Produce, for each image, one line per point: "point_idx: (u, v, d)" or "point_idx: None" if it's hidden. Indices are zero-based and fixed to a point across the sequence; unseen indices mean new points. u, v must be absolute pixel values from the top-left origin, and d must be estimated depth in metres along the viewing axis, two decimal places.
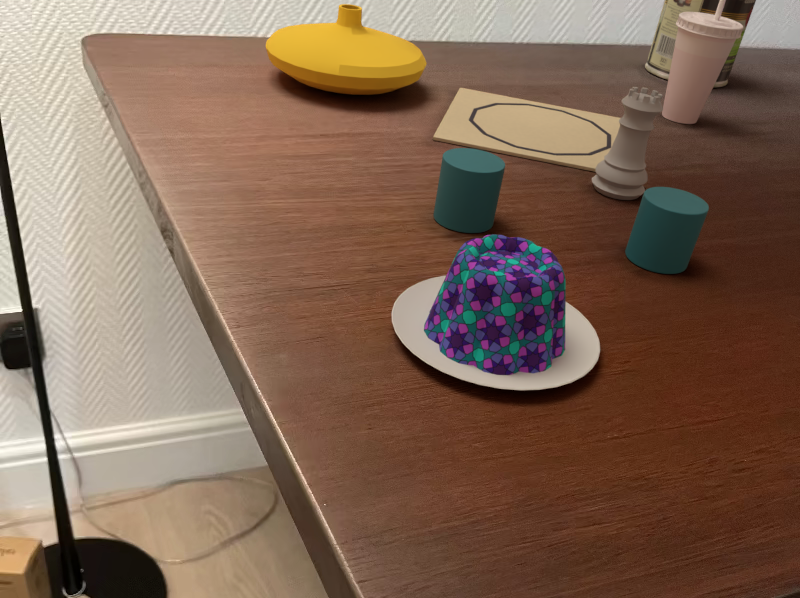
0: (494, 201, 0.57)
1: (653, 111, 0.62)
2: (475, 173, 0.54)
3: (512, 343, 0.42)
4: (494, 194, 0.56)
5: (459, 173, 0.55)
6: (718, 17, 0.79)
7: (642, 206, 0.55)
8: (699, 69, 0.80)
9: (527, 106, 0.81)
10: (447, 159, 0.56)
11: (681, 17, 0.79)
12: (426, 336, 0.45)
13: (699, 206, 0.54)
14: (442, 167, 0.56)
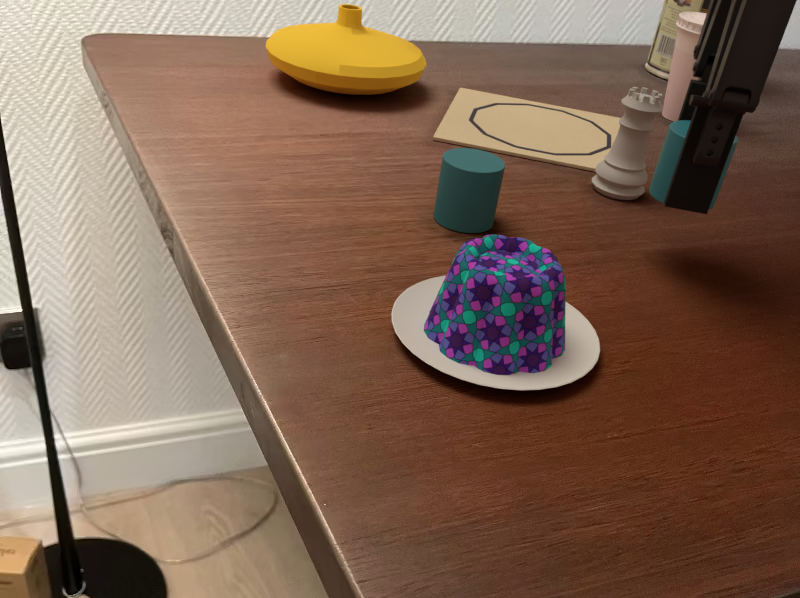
0: (494, 201, 0.57)
1: (653, 111, 0.62)
2: (475, 173, 0.54)
3: (512, 343, 0.42)
4: (494, 194, 0.56)
5: (459, 173, 0.55)
6: None
7: (667, 139, 0.52)
8: None
9: (527, 106, 0.81)
10: (447, 159, 0.56)
11: (681, 17, 0.79)
12: (426, 336, 0.45)
13: None
14: (442, 167, 0.56)
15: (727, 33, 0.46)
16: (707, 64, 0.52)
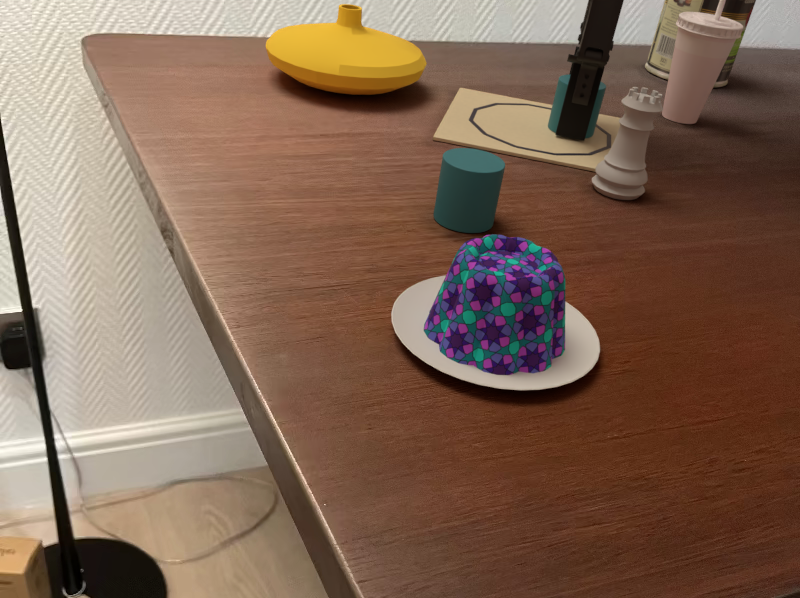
0: (494, 201, 0.57)
1: (653, 111, 0.62)
2: (475, 173, 0.54)
3: (512, 343, 0.42)
4: (494, 194, 0.56)
5: (459, 173, 0.55)
6: (718, 17, 0.79)
7: (557, 87, 0.74)
8: (699, 69, 0.80)
9: (527, 106, 0.81)
10: (447, 159, 0.56)
11: (681, 17, 0.79)
12: (426, 336, 0.45)
13: (599, 86, 0.74)
14: (442, 167, 0.56)
15: (589, 11, 0.68)
16: None
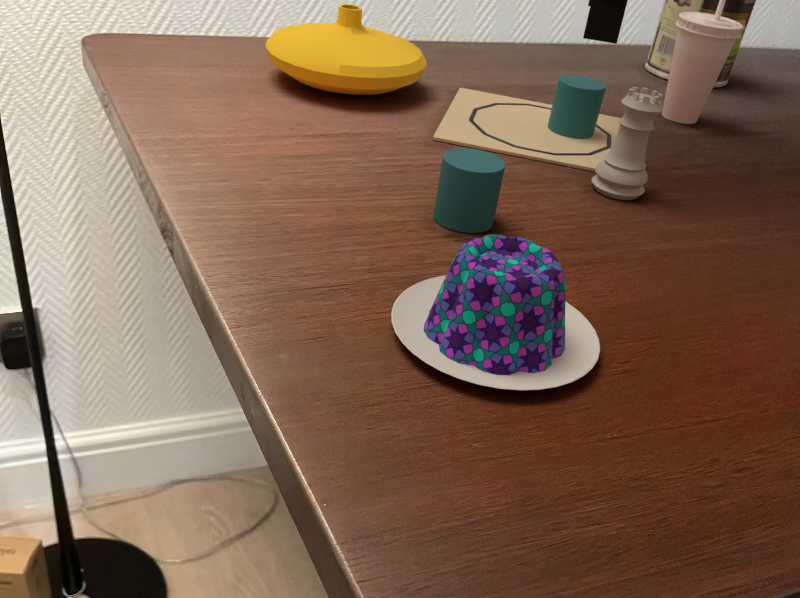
0: (494, 201, 0.57)
1: (653, 111, 0.62)
2: (475, 173, 0.54)
3: (512, 343, 0.42)
4: (494, 194, 0.56)
5: (459, 173, 0.55)
6: (718, 17, 0.79)
7: (557, 87, 0.74)
8: (699, 69, 0.80)
9: (527, 106, 0.81)
10: (447, 159, 0.56)
11: (681, 17, 0.79)
12: (426, 336, 0.45)
13: (598, 86, 0.74)
14: (442, 167, 0.56)
15: None
16: None
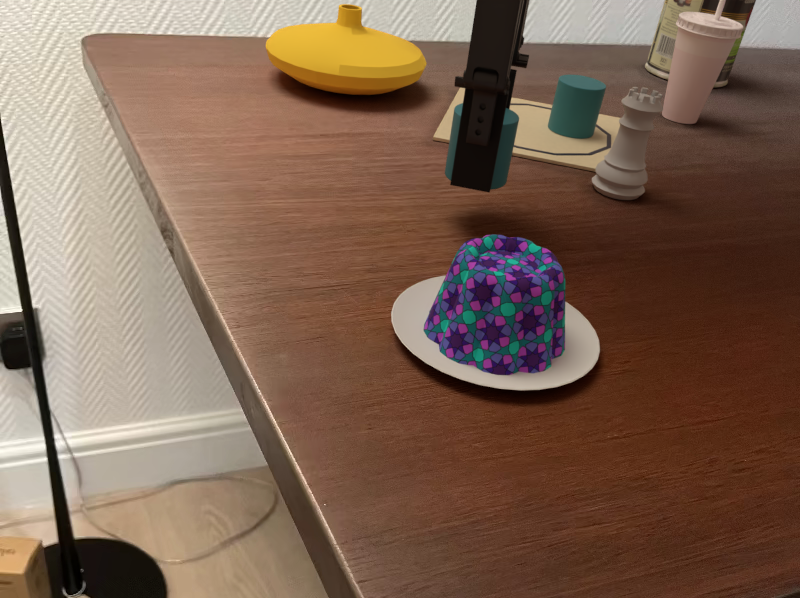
0: (508, 156, 0.55)
1: (653, 111, 0.62)
2: None
3: (511, 343, 0.42)
4: (507, 148, 0.54)
5: None
6: (718, 17, 0.79)
7: (557, 87, 0.74)
8: (699, 69, 0.80)
9: (527, 106, 0.81)
10: (459, 112, 0.54)
11: (681, 17, 0.79)
12: (426, 336, 0.45)
13: (598, 86, 0.74)
14: (454, 121, 0.54)
15: None
16: None
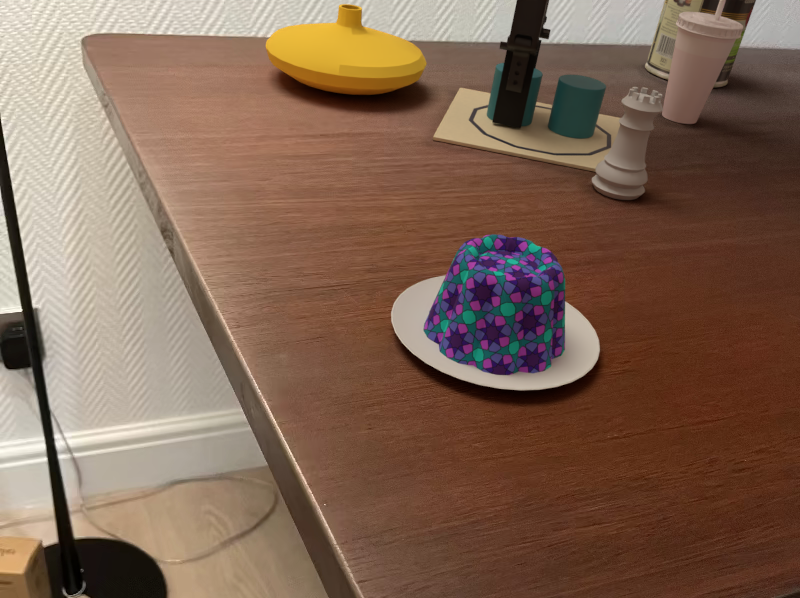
0: (534, 101, 0.75)
1: (653, 111, 0.62)
2: None
3: (511, 343, 0.42)
4: (534, 95, 0.75)
5: None
6: (718, 17, 0.79)
7: (557, 87, 0.74)
8: (699, 69, 0.80)
9: None
10: (499, 68, 0.74)
11: (681, 17, 0.79)
12: (426, 336, 0.45)
13: (598, 86, 0.74)
14: (495, 75, 0.75)
15: None
16: None
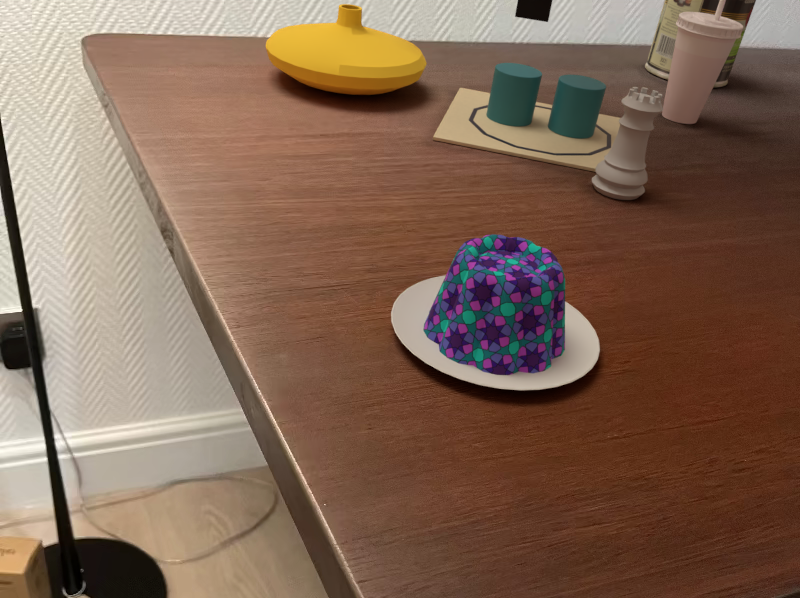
0: (533, 101, 0.75)
1: (653, 111, 0.62)
2: (520, 77, 0.73)
3: (511, 343, 0.42)
4: (533, 95, 0.75)
5: (508, 78, 0.73)
6: (718, 17, 0.79)
7: (557, 87, 0.74)
8: (699, 69, 0.80)
9: None
10: (499, 68, 0.74)
11: (681, 17, 0.79)
12: (426, 336, 0.45)
13: (598, 86, 0.74)
14: (495, 75, 0.75)
15: None
16: None
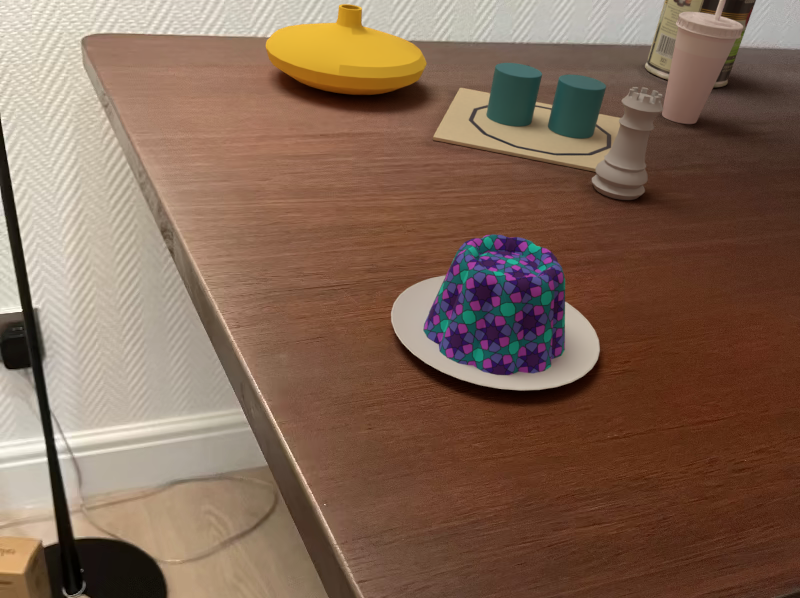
0: (533, 101, 0.75)
1: (653, 111, 0.62)
2: (520, 77, 0.73)
3: (511, 343, 0.42)
4: (533, 95, 0.75)
5: (508, 78, 0.73)
6: (718, 17, 0.79)
7: (557, 87, 0.74)
8: (699, 69, 0.80)
9: None
10: (499, 68, 0.74)
11: (681, 17, 0.79)
12: (426, 336, 0.45)
13: (598, 86, 0.74)
14: (495, 75, 0.75)
15: None
16: None
